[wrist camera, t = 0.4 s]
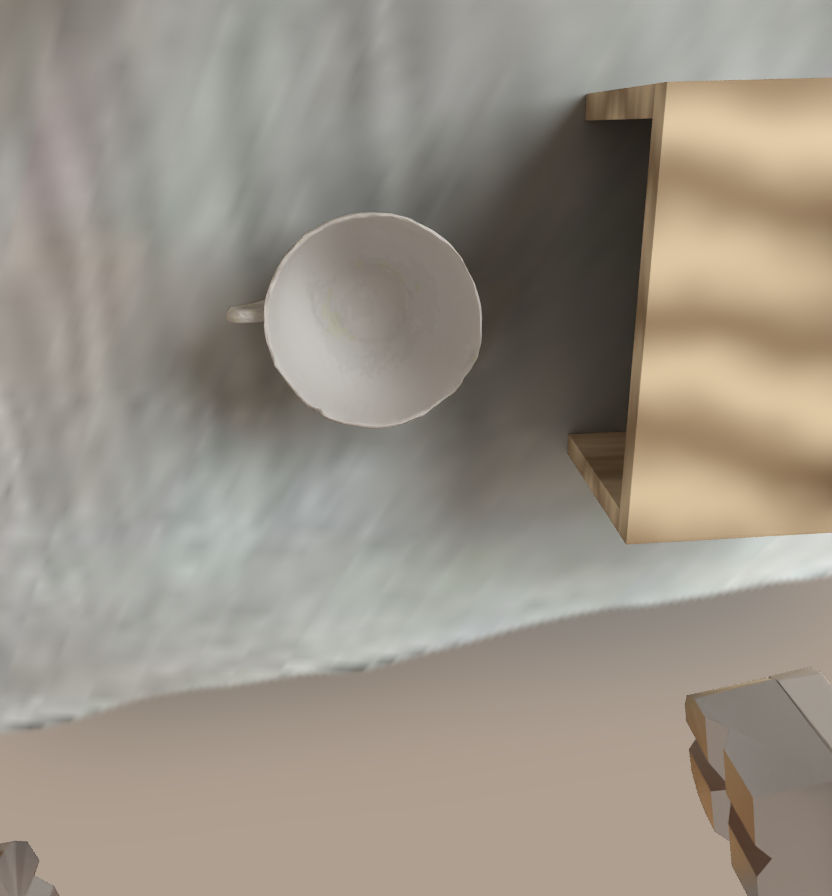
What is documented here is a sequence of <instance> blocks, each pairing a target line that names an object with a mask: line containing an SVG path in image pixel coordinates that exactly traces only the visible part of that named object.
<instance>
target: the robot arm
mask: <svg viewBox="0 0 832 896" xmlns="http://www.w3.org/2000/svg"><path fill="white" fill-rule="evenodd" d="M685 712H686V722H687V723H688V725H689V727H690V729H691V731H692V733H693V734H694V736H695V738H696V739H695V741H694V743H693V744H692V745H691V747H690V748H689V754H690V762H691V770H692V774H693V778H694V782H695V785H696V789H697V793H698V796H699V798H700V801H701V803H702V806H703V808H704V811H705V813H706V815H707V817H708V819H709V821H710V823H711V825H712V827H713V829H714V831H715V832H716V833H718V834H719V835H721V836H722V837H724V838H726V839H727V840H729V841H730V851H731V863H732V867H733V869H734V871H735V873H736V875H737V876H738V878H739V880H740V882H741V884H742V886H743V888H744V890H745V892H746V894H747V896H832V685H831V684H830V683H829V682H828V681H827V680H826V678H825V677H824V676H823V675H822V674H821V673H820V671H818V670H815V669H814V668H812V667H808V668H803V669H799V670H795V671H790V672H786V673H782V674H777V675H773V676H769V678H761V679H757V680H752V681H748V682H743V683H739V684H734V685H730V686H726V687H721V688H717V689H712V690H708V691H704V692H699V693H695V694H690V695H687V696H686V702H685ZM38 863H39V859H38V857H37V856H36V854H35V852H34V851H33V849H32V848H31V846H30V845H29V843H28V842H26V841H12V842H6V843H1V844H0V896H59V894H58V892H57V891H56V889H55V887H54V886H53V885H51V884H50V883H48V882H46V881H44V880H42V879H40V878H38V877H36V876H34V875H35V872H36V869H37V866H38Z"/></svg>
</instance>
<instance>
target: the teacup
mask: <svg viewBox="0 0 832 896" xmlns="http://www.w3.org/2000/svg"><path fill="white" fill-rule="evenodd" d="M225 316H226V321H228V322H232V323H253V322H263V321H264V334H265V339H266V343H267V345H268V348H269V351H270V354H271V357H272V360H273V363H274V366H275V367H276V369H277V370H278V371H279V373H280V374H281V375H282V377H283V378H284V380H285V381H286V383H287V384H288V385H289V387H290V388H291V389H292V390H293V391H294V392H295V393H296V395H297V396H298V397H299V398H300V399H301V400H302V402H304V403H305V404H306V406H308V407H311V408H312V409H314V410H317V411H318V412H319V413H320V414H321V415H323V416H324V417H325V418H327V419H329V420H332V421H335V422H338V423H342V424H346V425H353V426H358V427H365V428H384V427H390V426H395V425H400V424H404V423H406V422H408V421H410V420H413V419H415V418H417V417H421V416H424V415H425V414H426V413H428V412H429V411H430V410H431V409H432V408H433V407H435V406H437V405H438V404H439V403H440V402H441V401H443V400H444V399H445V398H447V397H448V396H450V395H451V394H453V393H454V392H455V391H456V390H457V389H458V387H459V386H460V385H461V383H462V381H463V379H464V377H465V376H466V375H467V374H468V373H469V372H470V370H471V368H472V366H473V364H474V363H475V361H476V360H477V358H478V355H479V349H480V347H481V340H482V311H481V303H480V299H479V296H478V292H477V289H476V286H475V283H474V281H473V279H472V277H471V275H470V273H469V271H468V269H467V268H466V265H465V263H464V261H463V259H462V258H461V256H460V255H459V254H458V253H457V251H456V250H455V249H454V248H453V246H452V245H451V244H450V243H449V242H448V241H447V240H445V239H444V238H443V237H441V236H440V235H439V234H438V233H436V232H435V231H433V230H432V229H430V228H428V227H426V226H424V225H422V224H420V223H417V222H415V221H414V220H412V219H410V218H407V217H404V216H400V215H396V214H392V213H378V212H362V213H354V214H349V215H345V216H341V217H338V218H335V219H332V220H330V221H327V222H325V223H323V224H321V225H319V226H318V227H316V228H314V229H312V230H311V231H309V232H307V233H306V234H305V235H303V236H302V238H301V239H300V240H299V241H298V242H297V243H296V244H295V245H294V246H293V247H292V248H291V249H290V250H289V251H288V253H287V254H286V255H285V256H284V257H283V259H282V260H281V262H280V263H279V265H278V267H277V269H276V271H275V273H274V275H273V277H272V279H271V282H270V285H269V288H268V291H267V294H266V299H265V300H261V301H258V302H254V303H250V304H244V305H238V306H232V307H229V309H228V310H227V312H226V315H225Z"/></svg>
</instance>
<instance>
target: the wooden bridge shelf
mask: <svg viewBox="0 0 832 896" xmlns="http://www.w3.org/2000/svg"><path fill="white" fill-rule="evenodd" d="M621 119H653V121H652V133H651V145H650V156H649V168H648V180H647V192H646V204H645V216H644V228H643V240H642V252H641V264H640V276H639V288H638V300H637V312H636V324H635V336H634V347H633V359H632V371H631V383H630V395H629V407H628V419H627V431H625V432H604V433H584V434H569V436H568V455H569V456H570V458H571V459H572V461H573V462H574V464H575V466H576V467H577V469H578V470H579V472H580V473H581V475H582V476H583V478H584V480H585V481H586V483H587V484H588V486H589V487H590V489H591V490H592V492H593V494H594V495H595V497H596V498H597V500H598V501H599V503H600V504H601V506H602V508H603V509H604V511H605V512H606V514H607V515H608V517H609V518H610V520H611V522H612V523H613V525H614V526H615V528H616V529H617V531H618V532H619V534H620V536H621V537H622V539H623V540H624V542H625V543H626V544H641V543H658V542H675V541H693V540H710V539H728V538H745V537H762V536H780V535H797V534H815V533H832V78H804V79H764V80H724V81H684V82H663V83H657V84H650V85H644V86H637V87H630V88H624V89H617V90H610V91H604V92H597V93H590V94H587V98H586V117H585V120H621Z"/></svg>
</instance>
